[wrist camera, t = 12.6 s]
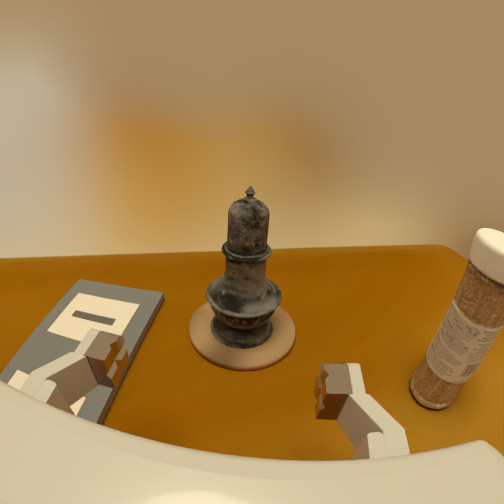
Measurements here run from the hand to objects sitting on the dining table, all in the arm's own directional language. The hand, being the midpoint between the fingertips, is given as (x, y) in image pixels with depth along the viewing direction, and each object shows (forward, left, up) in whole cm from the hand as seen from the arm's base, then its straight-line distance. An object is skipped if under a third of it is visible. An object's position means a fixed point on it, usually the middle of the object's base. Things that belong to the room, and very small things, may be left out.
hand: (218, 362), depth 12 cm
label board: (-13, +4, -9) cm, 16 cm away
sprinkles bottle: (+16, +6, -9) cm, 19 cm away
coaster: (0, +12, -9) cm, 15 cm away
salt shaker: (0, +12, -8) cm, 14 cm away
